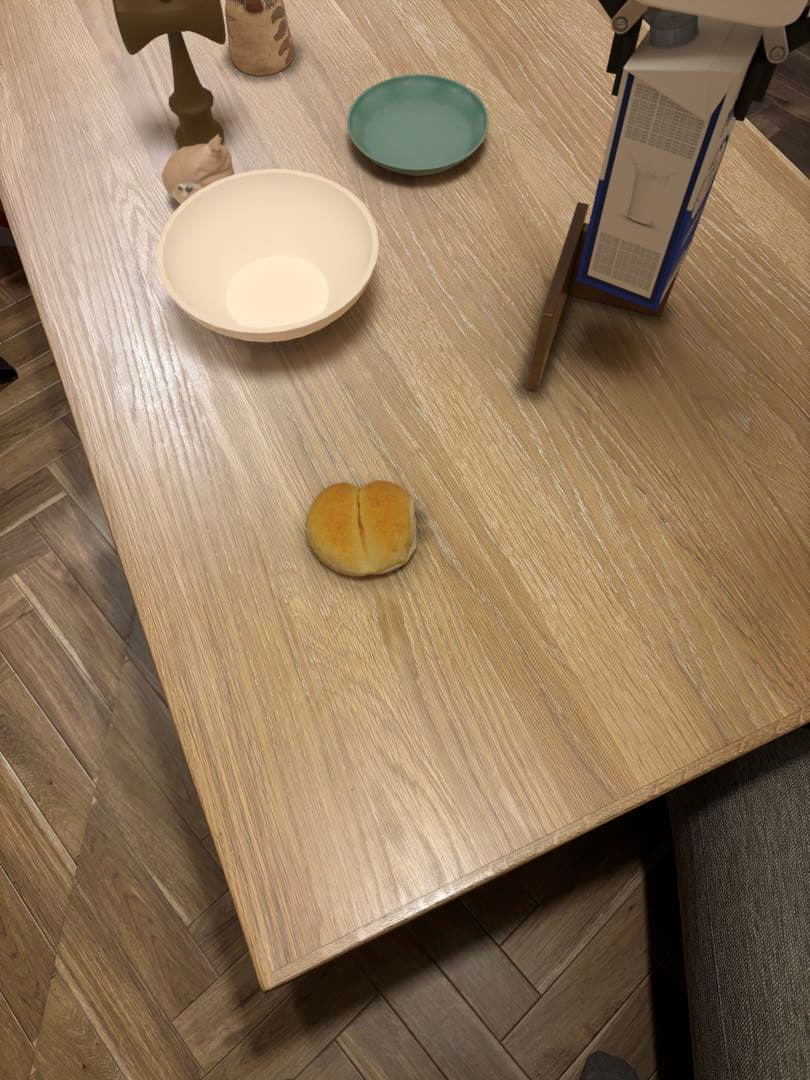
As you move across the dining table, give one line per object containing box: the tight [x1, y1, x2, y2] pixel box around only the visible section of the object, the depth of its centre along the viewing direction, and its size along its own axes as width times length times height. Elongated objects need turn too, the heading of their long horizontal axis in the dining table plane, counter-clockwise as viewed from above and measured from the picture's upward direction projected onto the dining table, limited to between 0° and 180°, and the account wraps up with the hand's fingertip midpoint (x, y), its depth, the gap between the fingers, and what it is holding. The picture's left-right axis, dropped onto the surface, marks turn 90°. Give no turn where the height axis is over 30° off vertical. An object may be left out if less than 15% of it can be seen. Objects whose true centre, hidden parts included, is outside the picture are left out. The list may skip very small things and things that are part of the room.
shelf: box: [525, 201, 682, 393], centre depth 75 cm, size 10×13×10 cm
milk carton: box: [577, 9, 763, 311], centre depth 60 cm, size 7×7×20 cm
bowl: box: [156, 168, 380, 343], centre depth 79 cm, size 20×20×7 cm
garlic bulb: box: [161, 134, 235, 205], centre depth 84 cm, size 7×6×8 cm
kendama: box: [111, 0, 227, 149], centre depth 83 cm, size 6×10×20 cm, turn 103°
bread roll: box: [305, 480, 418, 577], centre depth 69 cm, size 8×9×4 cm
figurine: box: [224, 0, 295, 77], centre depth 93 cm, size 7×7×12 cm
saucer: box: [346, 73, 490, 177], centre depth 91 cm, size 15×15×3 cm
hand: (680, 93), depth 56 cm, fingers closed on milk carton, 7 cm apart
